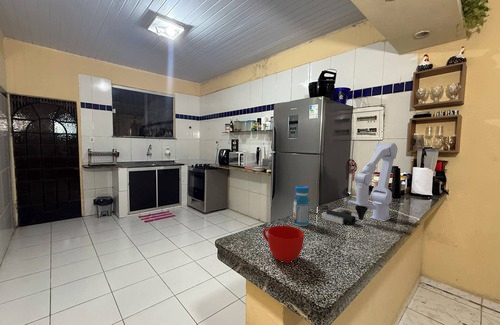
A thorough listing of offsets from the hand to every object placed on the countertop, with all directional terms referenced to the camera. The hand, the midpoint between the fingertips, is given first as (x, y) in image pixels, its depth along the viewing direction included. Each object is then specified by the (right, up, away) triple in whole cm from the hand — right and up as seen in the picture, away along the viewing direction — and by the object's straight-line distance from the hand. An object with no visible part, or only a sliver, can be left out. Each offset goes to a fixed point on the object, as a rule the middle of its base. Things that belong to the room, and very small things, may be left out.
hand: (360, 219), depth 122 cm
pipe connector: (-8, -2, +5) cm, 9 cm away
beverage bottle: (-34, -2, -3) cm, 34 cm away
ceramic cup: (-49, -4, -39) cm, 63 cm away
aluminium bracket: (-7, -1, +9) cm, 11 cm away
